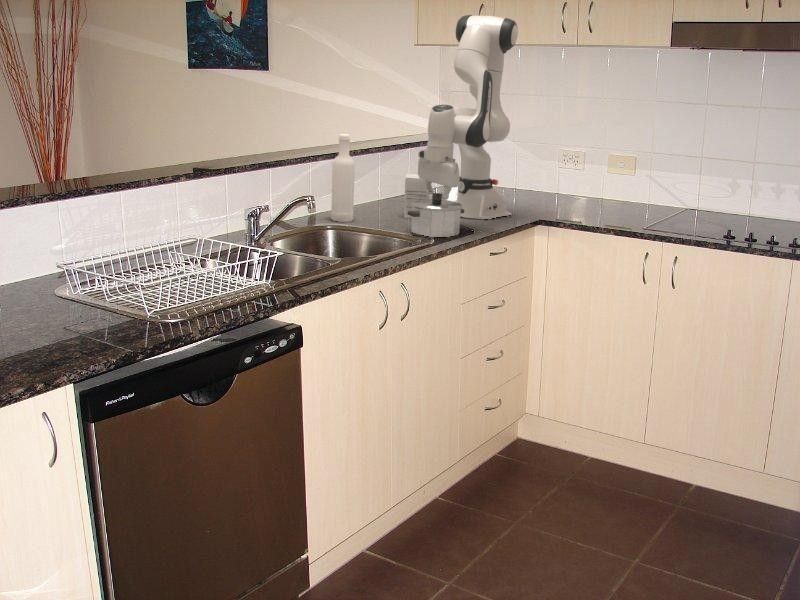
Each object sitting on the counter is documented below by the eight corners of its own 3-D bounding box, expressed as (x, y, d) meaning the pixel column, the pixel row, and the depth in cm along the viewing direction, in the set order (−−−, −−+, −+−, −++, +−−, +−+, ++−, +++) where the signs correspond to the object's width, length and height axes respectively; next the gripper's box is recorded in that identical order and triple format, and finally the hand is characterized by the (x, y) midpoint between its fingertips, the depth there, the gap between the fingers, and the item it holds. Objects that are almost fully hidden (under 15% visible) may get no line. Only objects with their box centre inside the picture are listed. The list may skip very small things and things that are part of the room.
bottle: (351, 217, 317) (353, 133, 308) (355, 222, 309) (358, 136, 300) (329, 217, 315) (331, 132, 306) (332, 222, 307) (334, 135, 299)
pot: (446, 225, 312) (448, 200, 309) (473, 235, 299) (475, 208, 296) (397, 229, 301) (398, 203, 299) (422, 239, 288) (424, 212, 286)
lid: (443, 203, 309) (444, 188, 307) (471, 213, 295) (472, 196, 294) (401, 206, 300) (402, 190, 299) (428, 216, 287) (429, 199, 285)
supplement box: (403, 213, 329) (405, 173, 324) (427, 214, 329) (430, 174, 324) (403, 218, 320) (405, 177, 316) (427, 219, 320) (430, 178, 316)
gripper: (465, 159, 286) (462, 201, 290) (431, 150, 302) (428, 190, 306) (449, 160, 282) (446, 202, 286) (415, 151, 299) (413, 191, 303)
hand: (437, 196), depth 296 cm, fingers open, 8 cm apart
